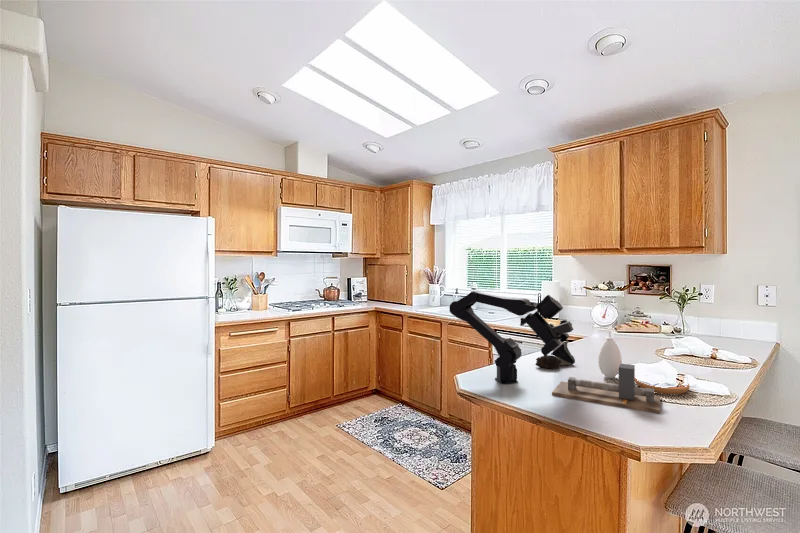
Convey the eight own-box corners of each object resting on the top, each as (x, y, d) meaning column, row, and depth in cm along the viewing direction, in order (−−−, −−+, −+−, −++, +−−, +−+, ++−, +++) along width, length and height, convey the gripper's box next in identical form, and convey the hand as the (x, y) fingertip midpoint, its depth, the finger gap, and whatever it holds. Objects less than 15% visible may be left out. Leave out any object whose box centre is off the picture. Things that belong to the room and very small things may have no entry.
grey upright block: (618, 397, 124) (618, 367, 124) (620, 392, 129) (620, 363, 129) (633, 400, 122) (633, 369, 122) (634, 394, 126) (634, 365, 126)
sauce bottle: (624, 377, 150) (623, 330, 150) (618, 382, 144) (618, 333, 144) (602, 373, 155) (601, 328, 155) (595, 378, 150) (595, 330, 150)
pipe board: (551, 395, 131) (551, 380, 131) (561, 384, 143) (561, 370, 143) (659, 413, 115) (659, 397, 114) (660, 399, 126) (660, 384, 126)
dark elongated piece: (566, 363, 173) (566, 350, 173) (578, 367, 167) (578, 354, 167) (533, 367, 167) (533, 354, 167) (544, 371, 160) (544, 357, 160)
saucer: (670, 400, 126) (670, 390, 126) (624, 386, 141) (624, 377, 141) (700, 393, 133) (700, 384, 132) (653, 380, 147) (653, 372, 147)
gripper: (551, 316, 129) (588, 354, 123) (564, 310, 144) (596, 343, 138) (527, 337, 133) (561, 375, 127) (541, 329, 149) (572, 362, 143)
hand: (574, 363), depth 134 cm, fingers closed
